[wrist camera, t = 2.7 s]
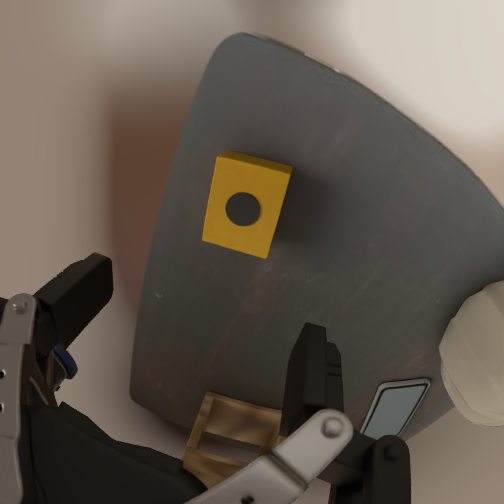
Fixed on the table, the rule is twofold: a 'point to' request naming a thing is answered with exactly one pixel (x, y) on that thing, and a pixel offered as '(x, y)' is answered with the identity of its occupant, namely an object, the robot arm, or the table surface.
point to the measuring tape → (245, 202)
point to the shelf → (229, 435)
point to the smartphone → (394, 407)
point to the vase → (476, 357)
